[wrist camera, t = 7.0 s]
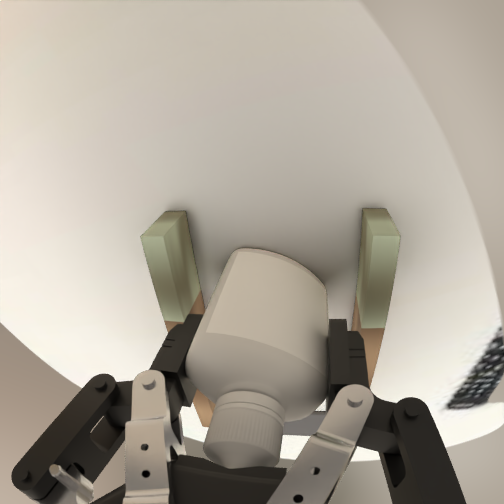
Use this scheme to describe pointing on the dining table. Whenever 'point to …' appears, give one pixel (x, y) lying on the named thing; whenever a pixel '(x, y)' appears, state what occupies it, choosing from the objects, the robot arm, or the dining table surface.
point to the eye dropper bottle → (260, 355)
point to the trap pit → (304, 425)
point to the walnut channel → (190, 297)
